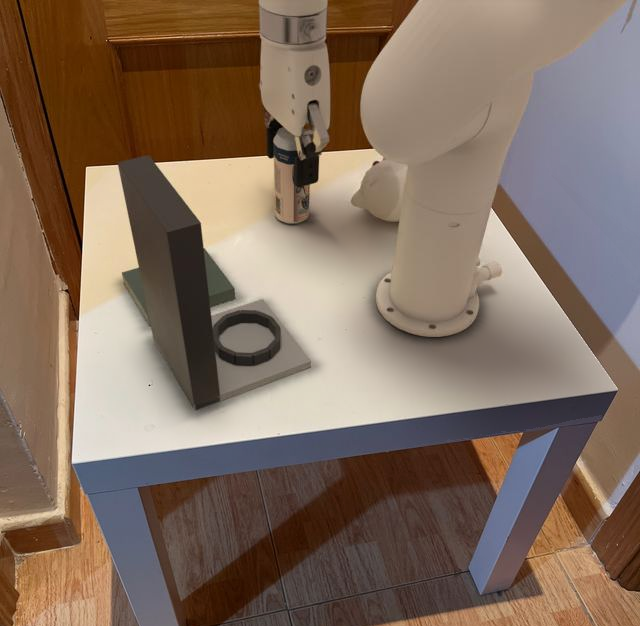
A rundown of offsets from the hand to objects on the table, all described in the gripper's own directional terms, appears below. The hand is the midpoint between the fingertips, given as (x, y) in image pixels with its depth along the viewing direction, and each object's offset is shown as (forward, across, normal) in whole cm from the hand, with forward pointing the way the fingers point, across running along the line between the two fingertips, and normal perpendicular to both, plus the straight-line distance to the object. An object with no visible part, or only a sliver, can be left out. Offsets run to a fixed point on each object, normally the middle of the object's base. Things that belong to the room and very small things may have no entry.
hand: (292, 168), depth 90 cm
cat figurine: (+7, -6, -14) cm, 17 cm away
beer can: (+7, 0, 0) cm, 7 cm away
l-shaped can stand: (+7, -21, +19) cm, 29 cm away
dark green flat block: (+7, -8, +20) cm, 23 cm away
